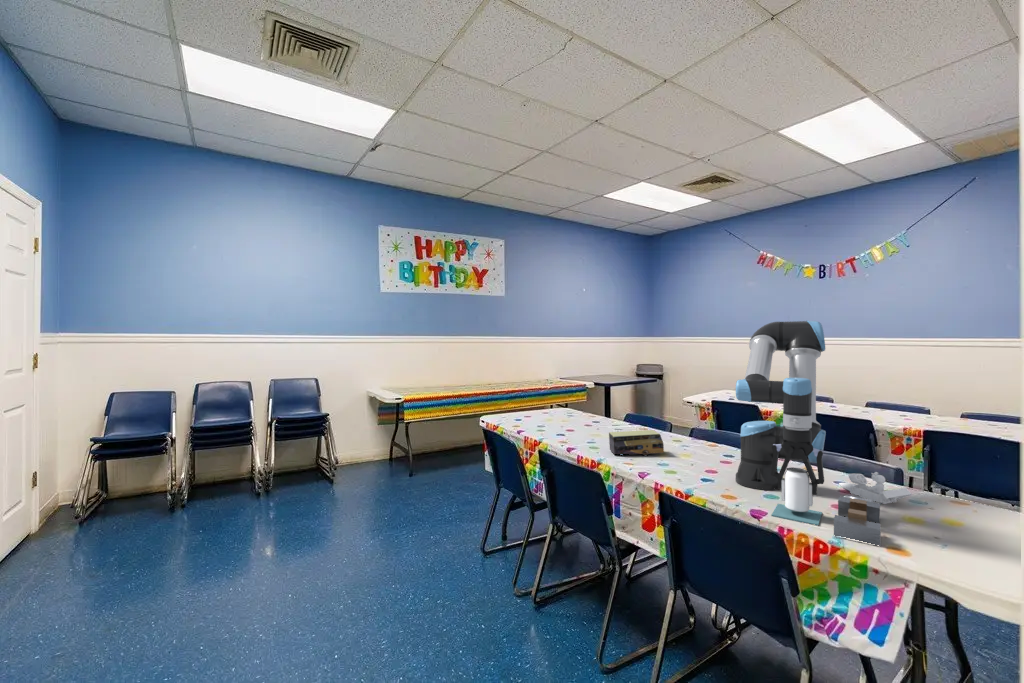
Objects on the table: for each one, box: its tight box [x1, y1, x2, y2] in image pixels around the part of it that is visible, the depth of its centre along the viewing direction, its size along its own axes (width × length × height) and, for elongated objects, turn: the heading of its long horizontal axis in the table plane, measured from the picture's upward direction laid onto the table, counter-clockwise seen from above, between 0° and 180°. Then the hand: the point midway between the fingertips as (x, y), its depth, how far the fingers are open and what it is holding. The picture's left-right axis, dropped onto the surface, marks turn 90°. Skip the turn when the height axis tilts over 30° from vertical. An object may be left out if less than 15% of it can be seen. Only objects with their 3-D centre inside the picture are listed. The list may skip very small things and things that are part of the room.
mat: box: [771, 503, 823, 526], centre depth 141 cm, size 12×12×1 cm
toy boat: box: [838, 471, 912, 505], centre depth 158 cm, size 11×20×9 cm, turn 18°
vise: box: [833, 495, 882, 547], centre depth 135 cm, size 32×10×6 cm, turn 142°
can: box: [784, 467, 810, 512], centre depth 141 cm, size 6×6×12 cm
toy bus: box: [608, 429, 665, 456], centre depth 217 cm, size 10×23×10 cm, turn 91°
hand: (797, 502), depth 141 cm, fingers closed on can, 6 cm apart
